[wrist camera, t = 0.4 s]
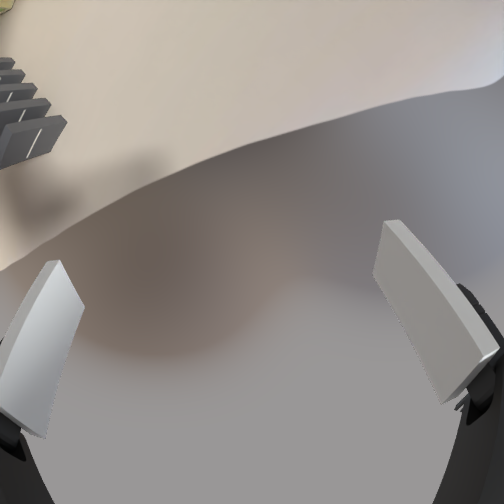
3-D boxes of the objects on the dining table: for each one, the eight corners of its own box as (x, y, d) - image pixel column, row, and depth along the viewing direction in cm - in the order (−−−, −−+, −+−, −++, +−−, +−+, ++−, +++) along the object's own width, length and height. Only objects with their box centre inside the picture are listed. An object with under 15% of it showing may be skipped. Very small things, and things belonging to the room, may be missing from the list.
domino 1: (43, 144, 34) (-9, 161, 23) (60, 115, 32) (5, 124, 21) (50, 152, 35) (-3, 170, 24) (67, 122, 33) (12, 133, 22)
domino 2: (29, 127, 33) (-23, 140, 22) (45, 98, 31) (-9, 104, 20) (35, 134, 33) (-18, 148, 22) (51, 104, 31) (-4, 112, 20)
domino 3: (17, 111, 31) (-34, 122, 20) (32, 82, 29) (-20, 86, 18) (22, 117, 32) (-30, 129, 21) (37, 88, 30) (-16, 93, 19)
